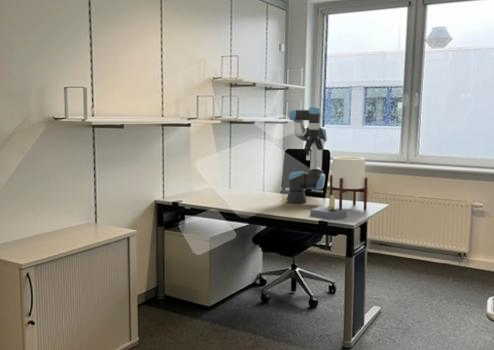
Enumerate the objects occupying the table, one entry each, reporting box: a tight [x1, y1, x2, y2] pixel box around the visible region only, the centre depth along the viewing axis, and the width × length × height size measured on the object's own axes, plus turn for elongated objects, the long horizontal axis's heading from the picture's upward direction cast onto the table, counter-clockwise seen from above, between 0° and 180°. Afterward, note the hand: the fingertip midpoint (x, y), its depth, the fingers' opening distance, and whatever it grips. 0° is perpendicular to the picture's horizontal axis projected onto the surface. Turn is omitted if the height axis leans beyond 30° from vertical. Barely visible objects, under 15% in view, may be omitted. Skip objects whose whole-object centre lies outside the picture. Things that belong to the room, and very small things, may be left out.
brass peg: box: [329, 194, 336, 212], centre depth 316 cm, size 3×3×14 cm
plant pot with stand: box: [329, 156, 368, 211], centre depth 346 cm, size 22×22×36 cm
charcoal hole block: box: [309, 206, 348, 220], centre depth 318 cm, size 20×12×4 cm, turn 50°
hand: (313, 159), depth 342 cm, fingers open, 13 cm apart
